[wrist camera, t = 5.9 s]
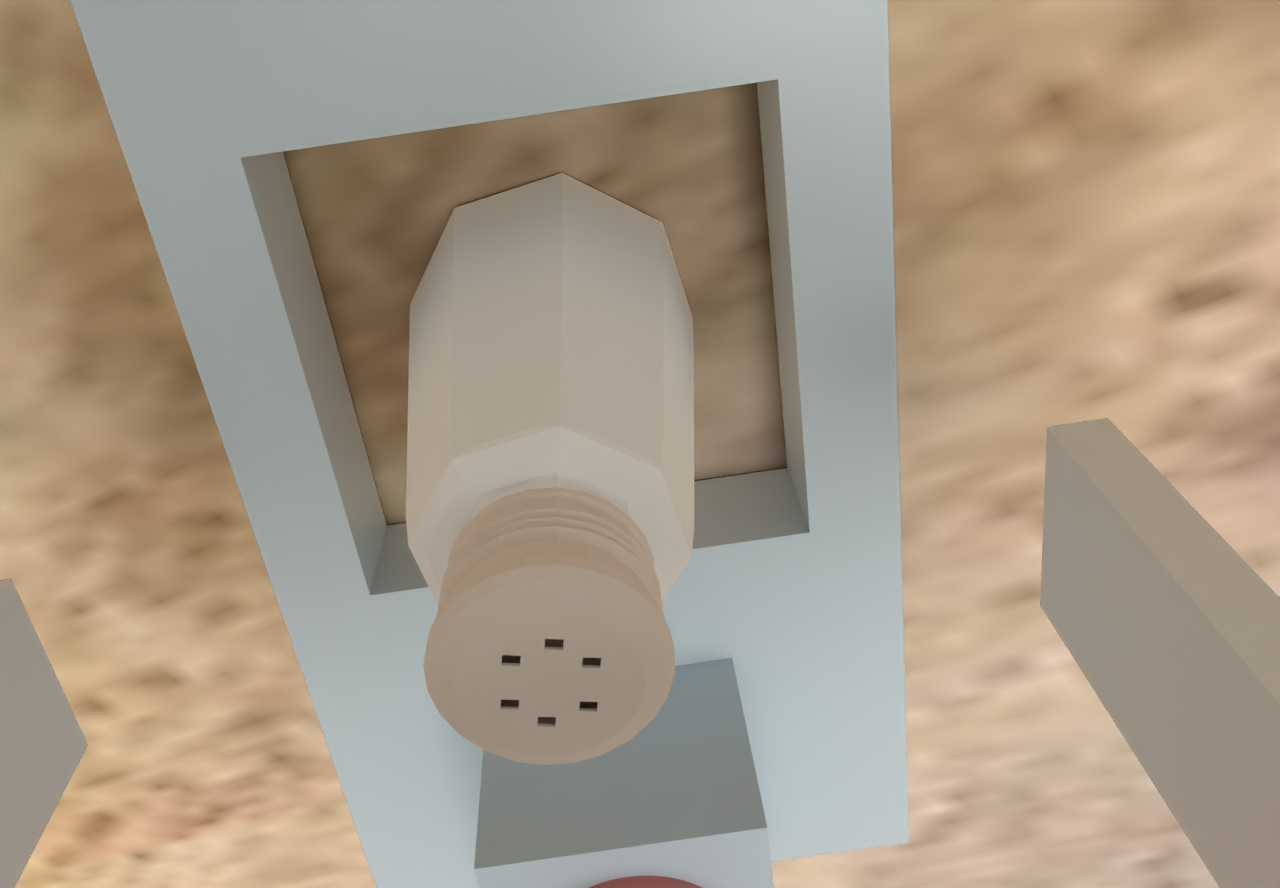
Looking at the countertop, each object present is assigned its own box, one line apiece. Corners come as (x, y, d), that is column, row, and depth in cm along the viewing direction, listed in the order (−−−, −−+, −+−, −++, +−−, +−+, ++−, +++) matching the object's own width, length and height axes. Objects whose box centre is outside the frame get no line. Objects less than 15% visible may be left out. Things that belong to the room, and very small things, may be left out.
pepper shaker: (677, 440, 24) (758, 863, 14) (411, 426, 23) (308, 855, 14) (709, 181, 21) (833, 483, 12) (411, 159, 21) (285, 455, 11)
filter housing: (122, -32, 19) (-84, 42, 13) (846, -139, 19) (984, -116, 13) (398, 831, 29) (356, 1109, 23) (881, 763, 29) (970, 1023, 22)
